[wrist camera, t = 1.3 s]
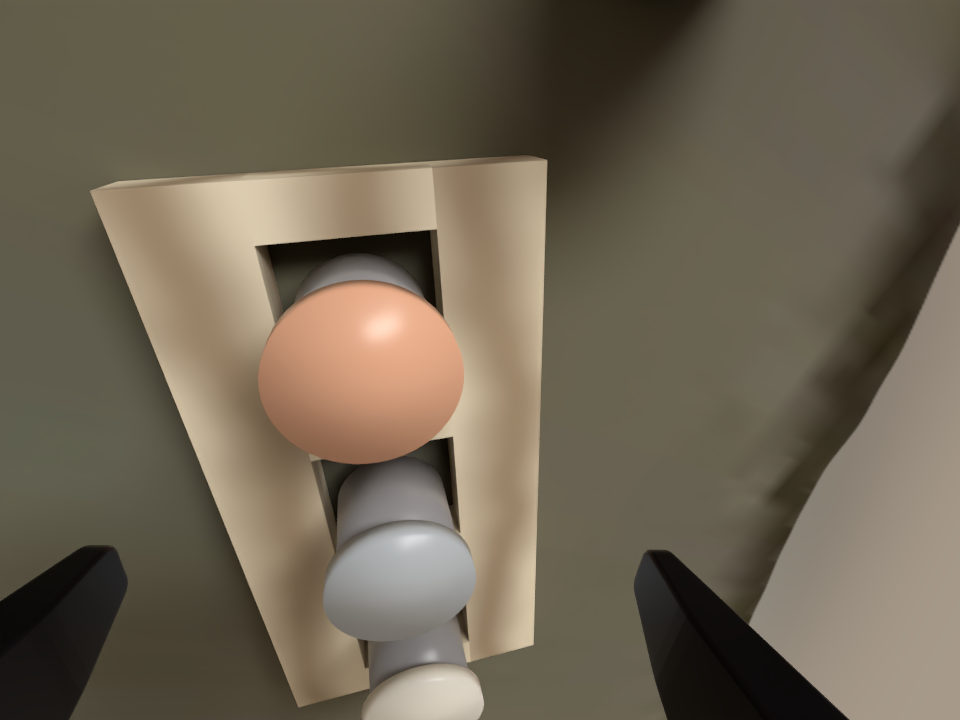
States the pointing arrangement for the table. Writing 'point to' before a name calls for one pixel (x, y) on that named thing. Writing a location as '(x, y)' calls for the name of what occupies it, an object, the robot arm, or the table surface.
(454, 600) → the button grey
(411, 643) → the button ivory
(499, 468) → the button board
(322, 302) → the button terracotta
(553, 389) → the table surface
